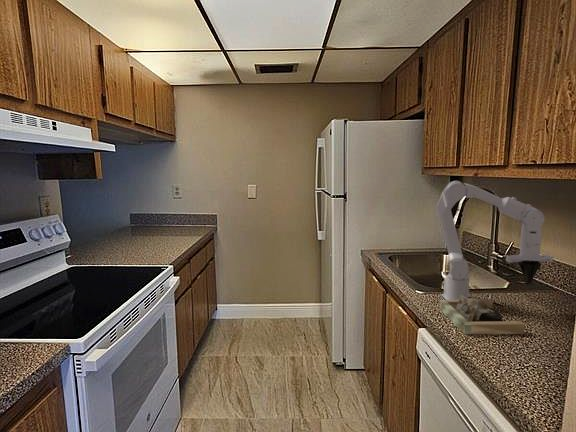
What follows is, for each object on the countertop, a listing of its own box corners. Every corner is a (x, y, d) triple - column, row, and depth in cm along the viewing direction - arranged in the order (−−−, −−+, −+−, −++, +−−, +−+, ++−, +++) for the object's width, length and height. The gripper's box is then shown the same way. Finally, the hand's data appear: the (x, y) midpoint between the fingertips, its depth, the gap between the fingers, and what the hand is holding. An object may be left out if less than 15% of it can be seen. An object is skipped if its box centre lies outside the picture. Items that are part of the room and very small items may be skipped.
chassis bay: (438, 308, 128) (438, 300, 127) (489, 307, 127) (489, 299, 127) (464, 334, 108) (464, 324, 108) (524, 333, 107) (524, 324, 107)
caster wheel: (503, 330, 115) (482, 332, 111) (473, 311, 125) (453, 312, 121) (510, 312, 114) (489, 313, 109) (480, 294, 123) (459, 294, 119)
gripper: (515, 246, 119) (513, 286, 121) (560, 245, 118) (557, 285, 120) (503, 241, 126) (501, 279, 128) (546, 241, 125) (543, 279, 127)
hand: (527, 282), depth 125 cm, fingers closed
